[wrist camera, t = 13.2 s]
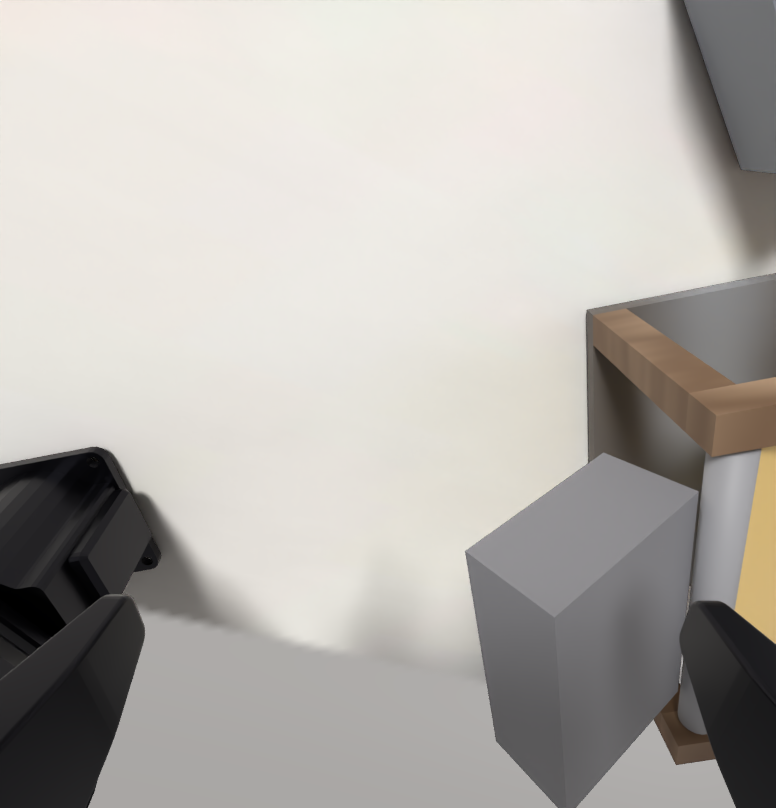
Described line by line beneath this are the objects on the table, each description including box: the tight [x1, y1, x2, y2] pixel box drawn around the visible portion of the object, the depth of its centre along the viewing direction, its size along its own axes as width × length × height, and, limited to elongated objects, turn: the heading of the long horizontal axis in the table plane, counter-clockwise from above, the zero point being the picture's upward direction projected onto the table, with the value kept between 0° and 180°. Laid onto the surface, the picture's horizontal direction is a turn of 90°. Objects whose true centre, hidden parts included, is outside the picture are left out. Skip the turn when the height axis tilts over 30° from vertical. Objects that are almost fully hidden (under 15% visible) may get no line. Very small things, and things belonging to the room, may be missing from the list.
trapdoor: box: [465, 446, 776, 808], centre depth 19 cm, size 18×12×4 cm
